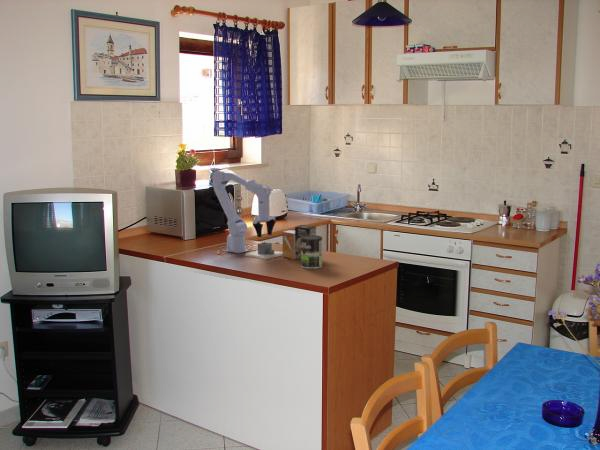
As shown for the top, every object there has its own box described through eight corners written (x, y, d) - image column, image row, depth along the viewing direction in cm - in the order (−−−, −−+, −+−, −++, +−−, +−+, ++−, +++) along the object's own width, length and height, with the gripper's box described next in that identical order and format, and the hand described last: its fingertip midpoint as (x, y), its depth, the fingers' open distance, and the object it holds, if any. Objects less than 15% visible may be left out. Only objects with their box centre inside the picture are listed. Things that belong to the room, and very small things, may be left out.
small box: (282, 256, 348) (282, 231, 346) (291, 254, 353) (290, 229, 351) (294, 259, 343) (293, 233, 340) (302, 257, 347) (302, 231, 345)
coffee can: (311, 270, 320) (311, 240, 317) (296, 266, 327) (295, 237, 324) (327, 266, 327) (326, 236, 324) (311, 263, 334) (311, 234, 332)
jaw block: (257, 253, 352) (257, 243, 351) (264, 251, 356) (264, 242, 355) (269, 255, 347) (269, 245, 346) (276, 253, 351) (275, 243, 350)
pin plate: (245, 256, 352) (245, 246, 351) (264, 251, 362) (263, 241, 362) (265, 259, 343) (265, 249, 342) (284, 254, 354) (283, 244, 353)
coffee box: (294, 258, 344) (294, 226, 341) (301, 255, 349) (301, 224, 346) (309, 260, 339) (309, 228, 336) (316, 258, 344) (316, 226, 341)
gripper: (259, 212, 345) (260, 238, 348) (279, 208, 356) (279, 234, 358) (249, 210, 350) (250, 237, 352) (269, 207, 361) (269, 233, 363)
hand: (264, 235), depth 356 cm, fingers open, 7 cm apart
